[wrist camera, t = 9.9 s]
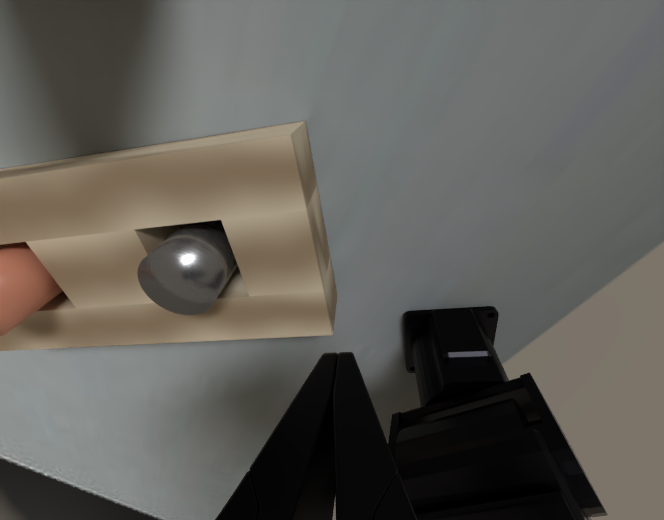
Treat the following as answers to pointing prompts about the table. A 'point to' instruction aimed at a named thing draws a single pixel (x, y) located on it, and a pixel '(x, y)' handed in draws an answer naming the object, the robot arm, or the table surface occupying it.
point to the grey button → (188, 268)
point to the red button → (22, 285)
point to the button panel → (158, 224)
